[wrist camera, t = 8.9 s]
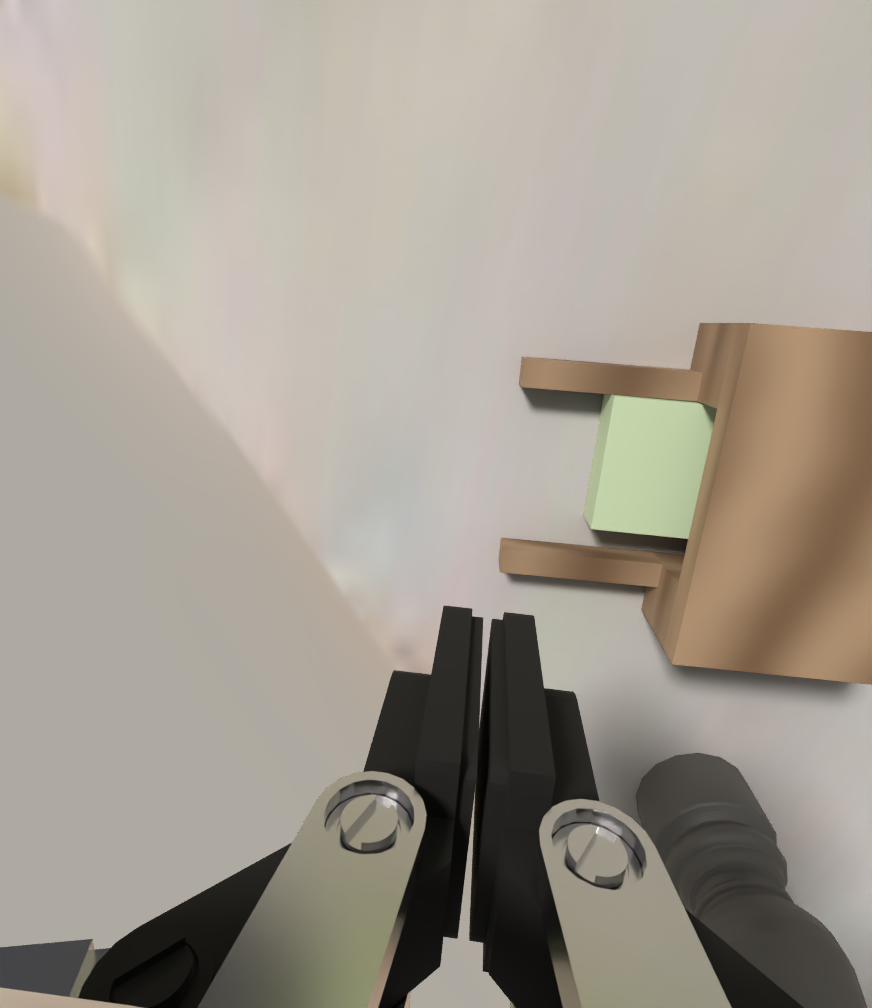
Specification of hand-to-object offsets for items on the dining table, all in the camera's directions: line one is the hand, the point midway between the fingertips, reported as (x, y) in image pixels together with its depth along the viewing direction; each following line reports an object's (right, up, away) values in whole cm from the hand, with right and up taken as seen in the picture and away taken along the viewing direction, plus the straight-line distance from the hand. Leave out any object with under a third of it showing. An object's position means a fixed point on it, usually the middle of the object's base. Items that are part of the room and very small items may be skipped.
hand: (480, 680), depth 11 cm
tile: (+12, +5, +17) cm, 21 cm away
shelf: (+12, +4, +16) cm, 21 cm away
